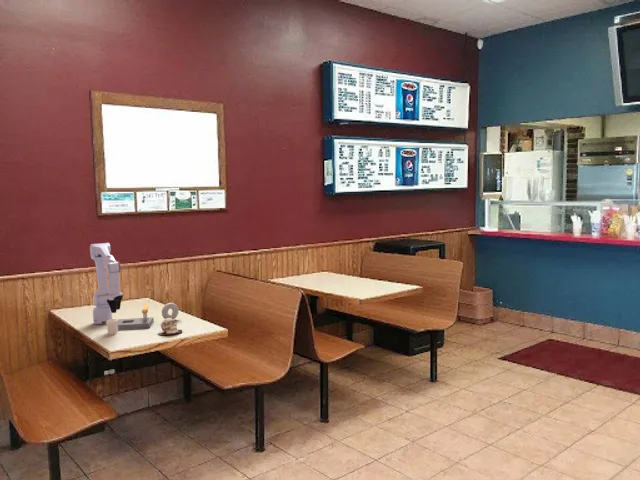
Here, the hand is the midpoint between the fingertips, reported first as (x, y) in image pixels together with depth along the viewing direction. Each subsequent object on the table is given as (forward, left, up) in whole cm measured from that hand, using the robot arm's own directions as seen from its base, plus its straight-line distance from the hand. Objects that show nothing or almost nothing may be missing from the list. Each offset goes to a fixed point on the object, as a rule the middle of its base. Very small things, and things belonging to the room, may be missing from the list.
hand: (115, 311), depth 286 cm
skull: (+29, -12, -11) cm, 33 cm away
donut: (+25, +16, -11) cm, 32 cm away
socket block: (+6, +8, -10) cm, 14 cm away
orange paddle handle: (+12, +15, -3) cm, 19 cm away
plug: (-2, -5, -10) cm, 12 cm away
